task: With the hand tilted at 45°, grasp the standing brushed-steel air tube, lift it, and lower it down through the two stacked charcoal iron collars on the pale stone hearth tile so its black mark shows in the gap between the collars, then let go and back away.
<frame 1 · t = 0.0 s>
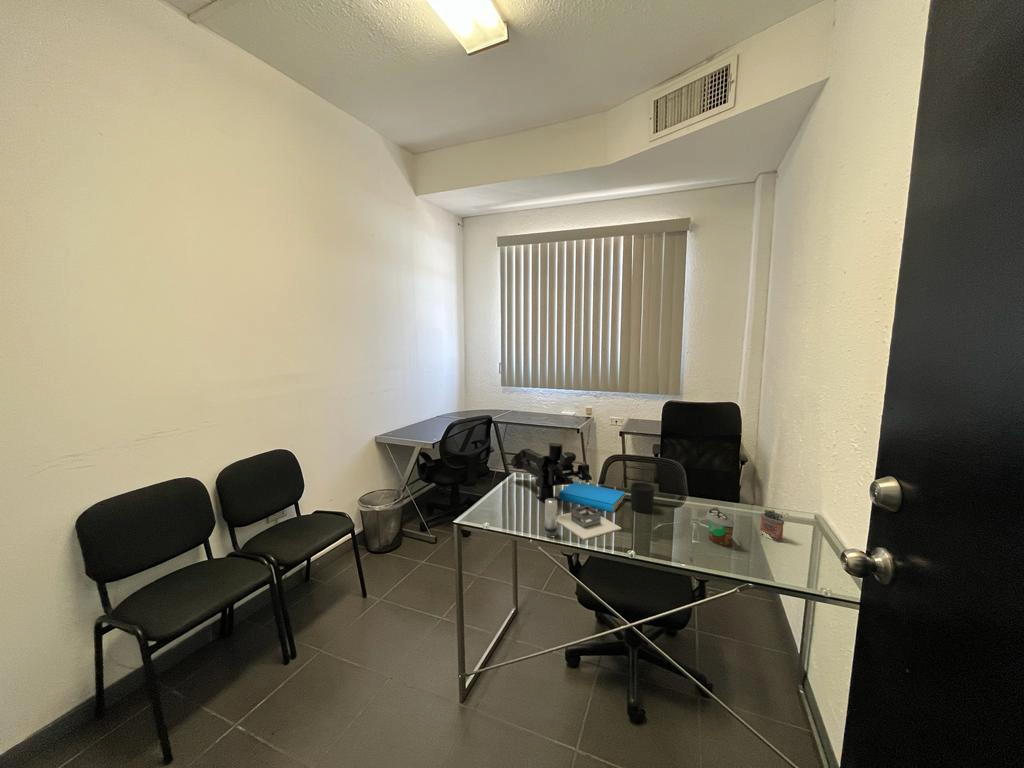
hand: (582, 480, 156), 17 cm above the table, tool horizontal, fingers open, 9 cm apart
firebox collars: (585, 516, 156), on the hearth tile, point 3 cm above the table
food container: (715, 540, 143), on the table
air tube: (550, 534, 147), on the table
hearth tile: (585, 523, 156), on the table
book: (591, 501, 180), on the table
pen holder: (641, 509, 170), on the table
lighter: (770, 537, 146), on the table
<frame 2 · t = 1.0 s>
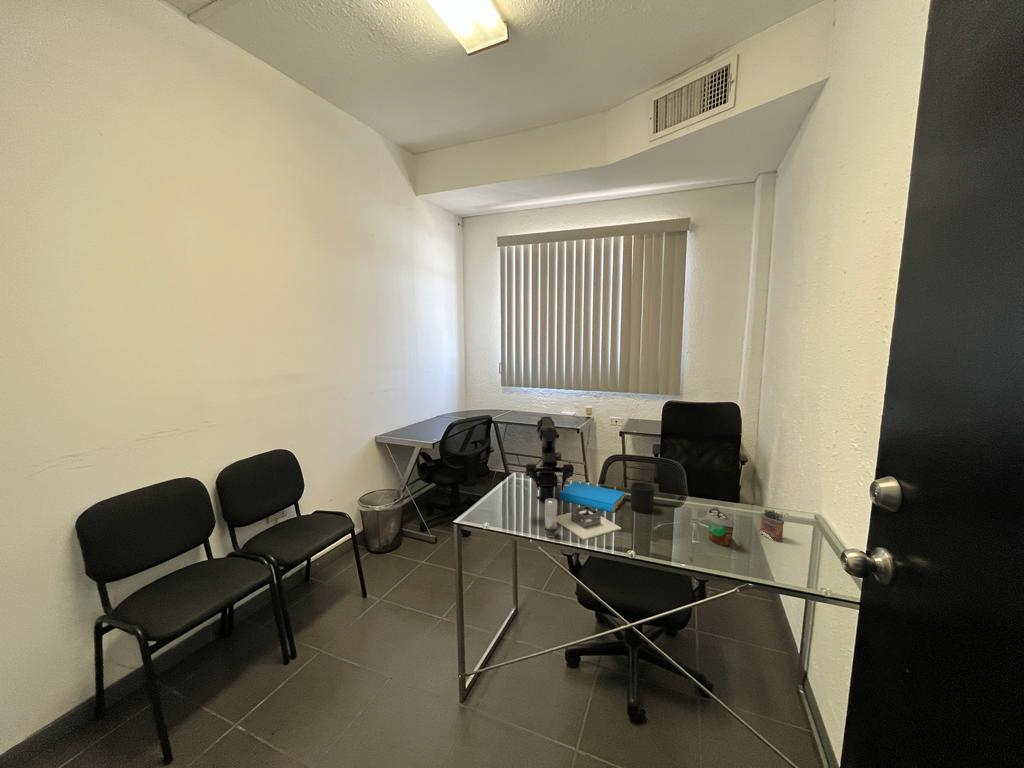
hand: (550, 490, 154), 14 cm above the table, tool tilted 45°, fingers open, 9 cm apart
nothing on the table moved.
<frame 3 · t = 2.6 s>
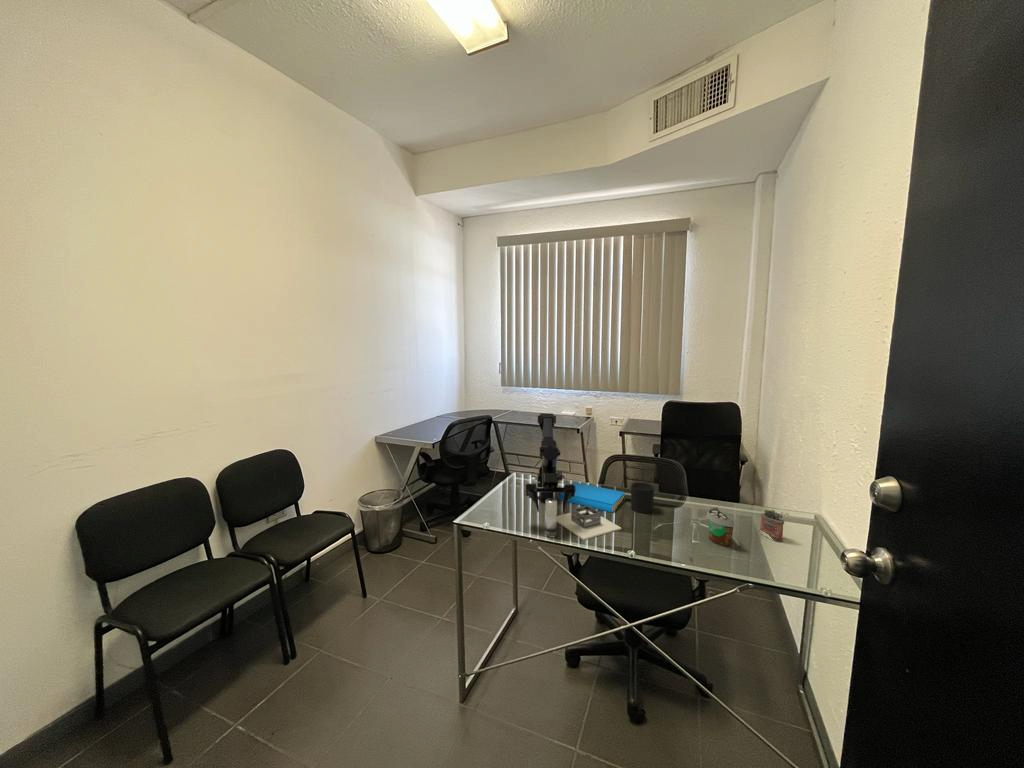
hand: (550, 511, 147), 8 cm above the table, tool tilted 45°, fingers open, 9 cm apart
nothing on the table moved.
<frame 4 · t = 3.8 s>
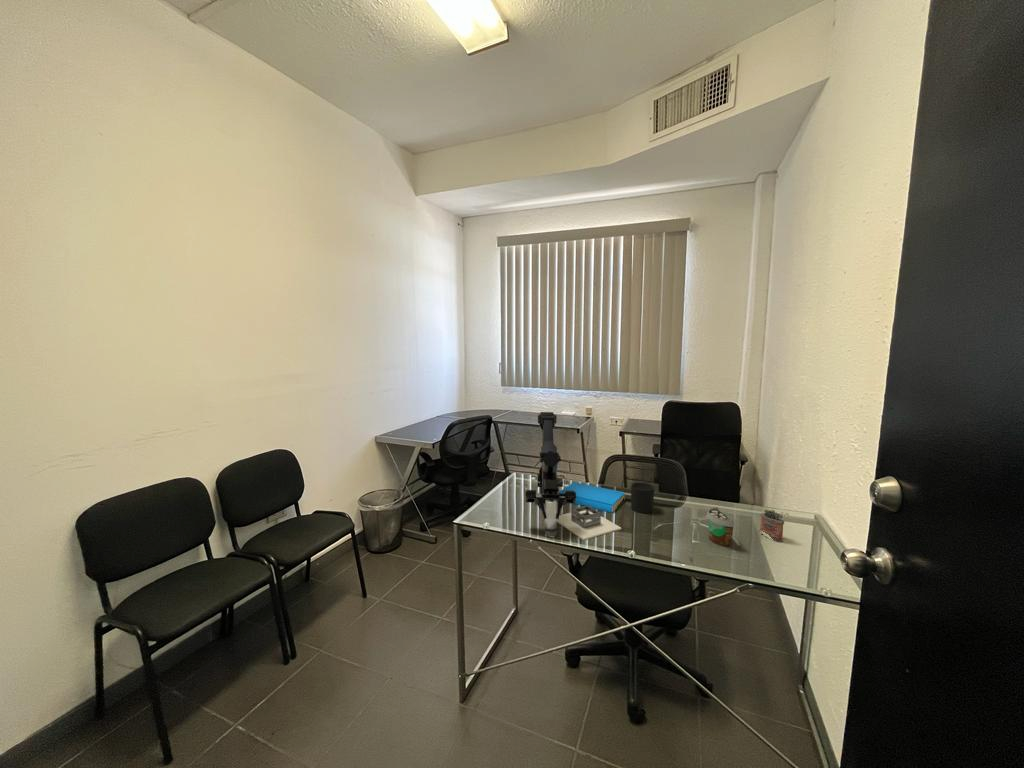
hand: (551, 519, 145), 7 cm above the table, tool tilted 45°, fingers closed on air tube, 4 cm apart
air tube: (550, 534, 147), on the table, touching gripper
everything else where it was.
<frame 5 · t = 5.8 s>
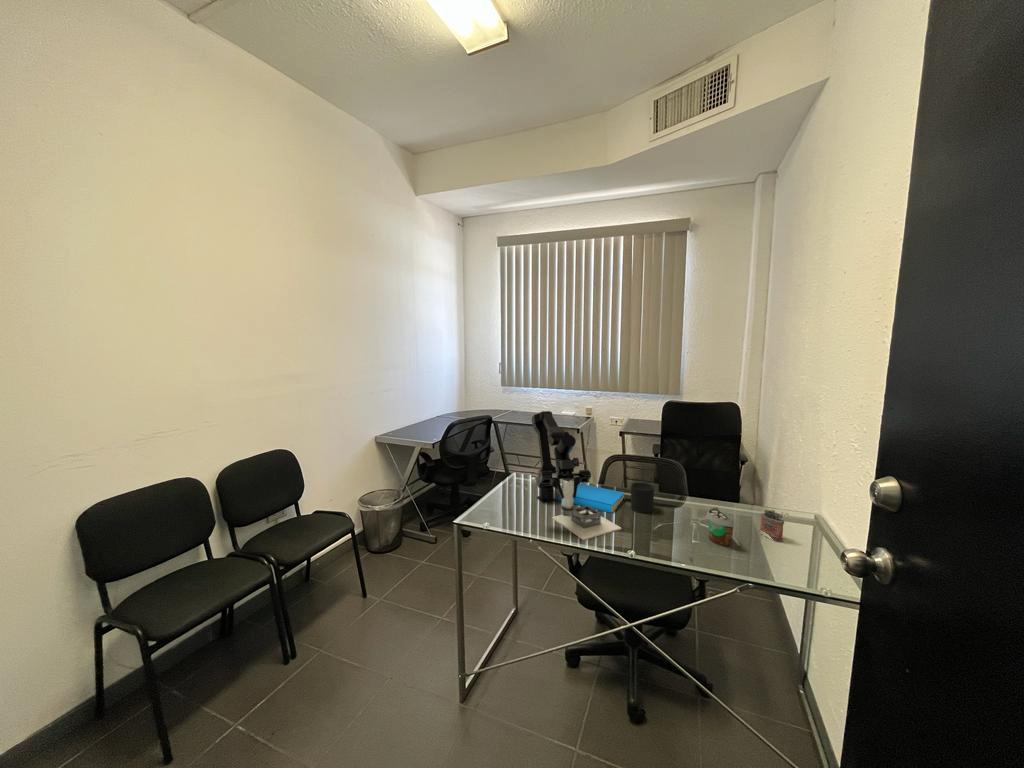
hand: (568, 498, 147), 13 cm above the table, tool tilted 45°, fingers closed on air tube, 4 cm apart
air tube: (567, 513, 149), point 7 cm above the table, touching gripper
when the fingers open (9 cm above the table, at t = 8.0 s): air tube drops 1 cm, resting on hearth tile.
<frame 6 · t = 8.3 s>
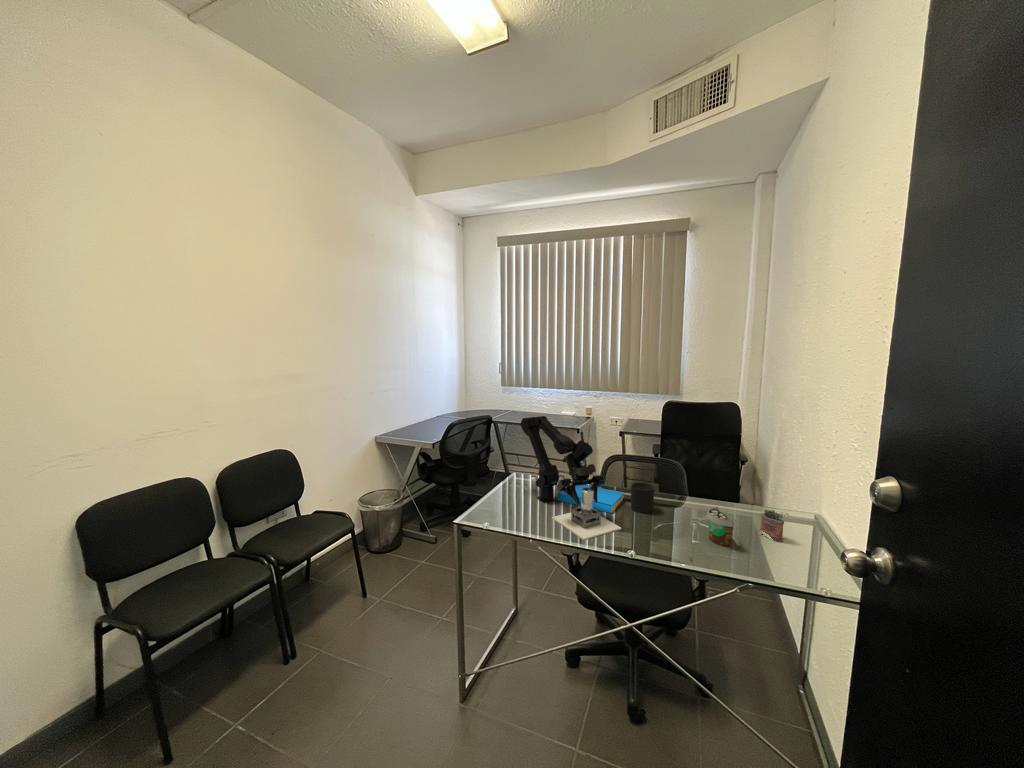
hand: (588, 503, 154), 9 cm above the table, tool tilted 45°, fingers open, 7 cm apart
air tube: (585, 522, 156), point 1 cm above the table, touching hearth tile
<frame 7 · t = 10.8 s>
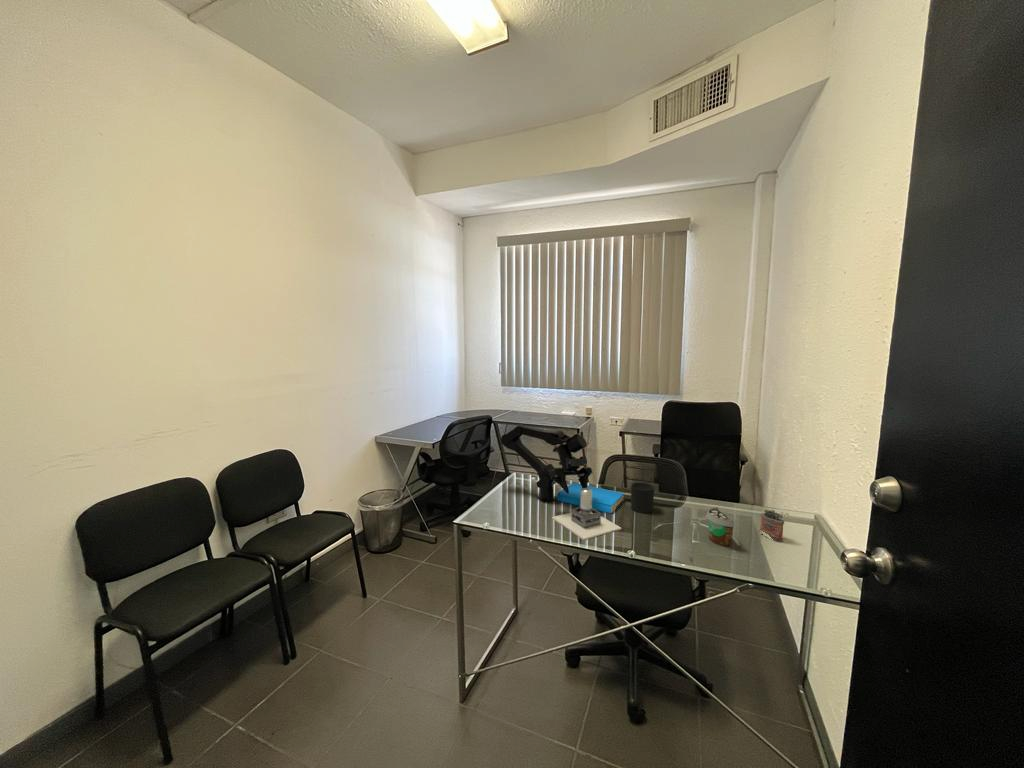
hand: (577, 492, 163), 9 cm above the table, tool tilted 40°, fingers open, 9 cm apart
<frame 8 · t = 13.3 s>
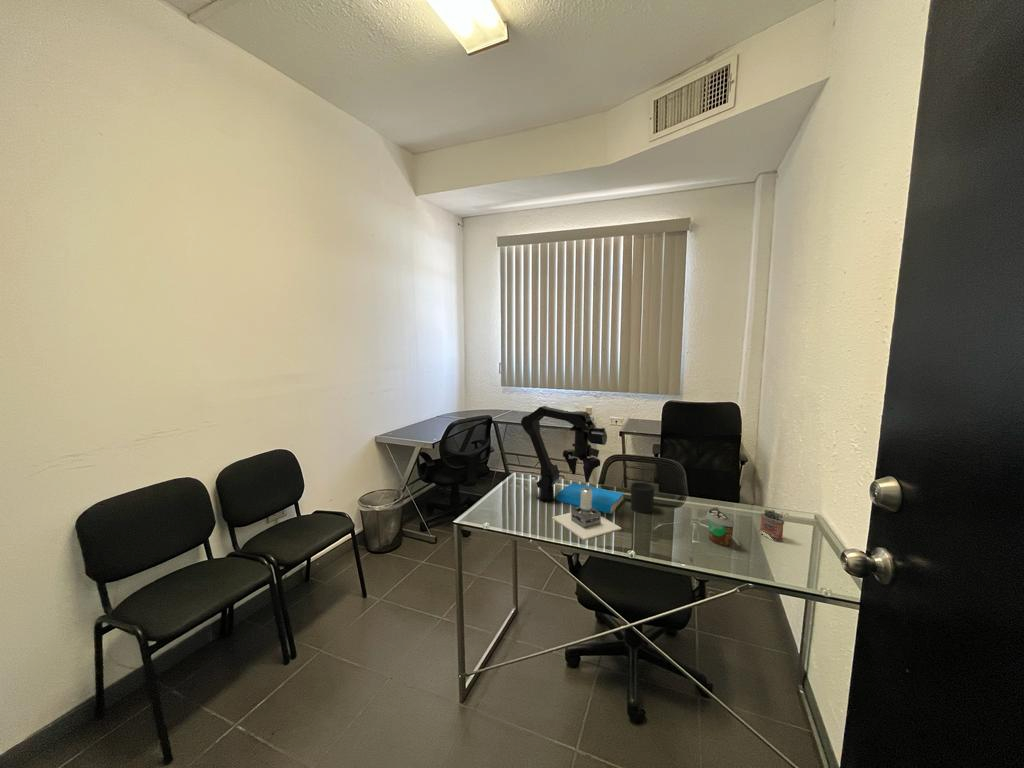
hand: (580, 477, 171), 13 cm above the table, tool pointing down, fingers open, 9 cm apart
at the end: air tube 0.0 cm off-centre on the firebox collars, point 0.6 cm above the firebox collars's base; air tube tilted 0°; the gripper is holding nothing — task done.
